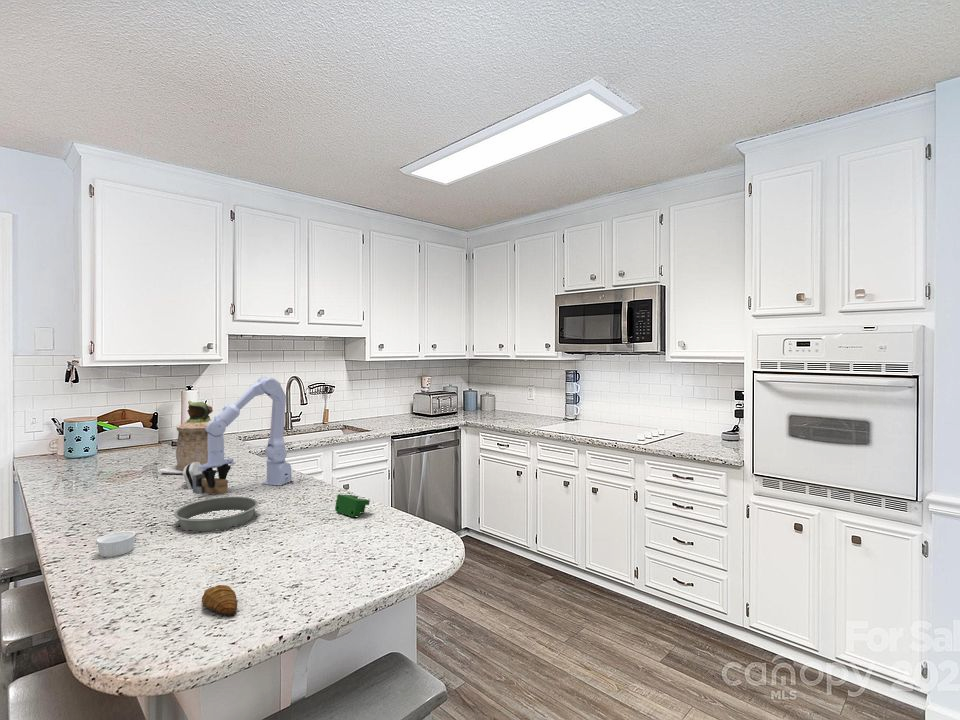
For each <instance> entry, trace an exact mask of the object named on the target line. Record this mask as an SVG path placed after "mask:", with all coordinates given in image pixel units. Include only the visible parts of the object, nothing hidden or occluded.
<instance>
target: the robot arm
mask: <svg viewBox="0 0 960 720" xmlns="http://www.w3.org/2000/svg"><path fill="white" fill-rule="evenodd" d="M265 394H266V396H268V397H269V398H270V399H271V400H272V403H271V404H272V405H271V408H272V409H271V417H270V418H271V420H270V431H269V432H270V433H269V439H268V441H267V445H266V447H265V449H264V455H265V457H267V459H266V481H263V482H261V483H262V485H270V486H276V485H280V486H282V485H281V484H283V485H285V484H284V483H286V484H288V483H287V482H289V481H292V480H293V479H292V465H291V464H290V462H289V463H288V461H286V458H287V454H288V452H287V449H286V444H285V443H286V442H285V440H284V431H285V420H286V419H285V416H286V407H287V395H286V393H285V391H284V389H283V387H282V386H281V383H280V382H279V381H278V380H277V379H275V378H273V377H267V376H262V377H260V378H259V379H258V380H257V381H255V382H253V383H252V384H251V386H249V388H248V389H246V391H245V392H244V393H243V394H242V395H241V396H240V397H239V398H238V399H237V400H236V401H235V402H234V403H233V404H228V405H227V406H223V407H222V410H221V411H220V412H219V413H218V414H216V415H215V416H213V418H212V419H211V421H209V422H208V423H207V426H206V427H205V429H206V431H207V432H208V440H207V444H208V462H207V463H206V464H203V465H200V466H198V471H202V473H203V474H204V476H205V478H206V480H207V483H208V486H209V487H210V488H213V487H214V478H216V473H218V479H226V480H227V476H228V474H229V472H230V469H231V466H232V465H234V464H235V463H234V460H235V459H234V458H225V439H224V434H225V432H226V429H227V428H228V426H230V425H231V424H232V423H233V421H235V420H236V419H237V418H239V416H240V411H241V410H242V409H243V408H245V406H246V405H247V404H248V403H249V402H250V401H251V400H253V399H254V398H255V397H257V396H258V397H259V396H262V395H265ZM228 464H232V465H228ZM216 467H217V471H216V470H213V469H212V468H216ZM289 483H290V482H289Z"/></svg>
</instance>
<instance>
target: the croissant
mask: <svg viewBox="0 0 960 720" xmlns="http://www.w3.org/2000/svg"><path fill="white" fill-rule="evenodd" d="M201 604H202V605H203V606H204V607H205V608H207V610H209V611H210V612H213V613H216V614H218V615H220V614H221V616H223V615H225V617H231V616H234V615H236V611H237V608H238V600H237V594H236V592H235V590H233V589H232V587H231V586H230V585H225V584H217V585H215V586H212V587H208V588H207V589H206V590H204V592H203V595H202V596H201Z"/></svg>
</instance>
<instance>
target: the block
mask: <svg viewBox="0 0 960 720" xmlns="http://www.w3.org/2000/svg"><path fill="white" fill-rule="evenodd" d="M228 482H229V481H228V479H227V478H226V479H219V477H215V478H214V487H213V488H210V487H209V486H208V483H207V480H206V478H204V479H202V486H203V487H204V493H205V492H206V493H207V494H211V493H213V495H218V494H219V495H220V494H221V495H224V494H228V493H227V492H229V488H228V487H229V484H228ZM206 493H205V494H206Z"/></svg>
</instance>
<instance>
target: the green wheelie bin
mask: <svg viewBox="0 0 960 720" xmlns="http://www.w3.org/2000/svg"><path fill="white" fill-rule="evenodd" d="M370 501H371V499H366V498H359V497H358V496H356V495H355V494H354V495H352V494H337V497H336V501H335V507H334V510H335V512H336V511H337V512H336V513H339V512H340V513H339V514H341V513H342V514H341V515H344V514H345V516H347V515H348V517H350V516H351V517H350V518H356V517H355V516H358V517H359V516H360V515H361V513H360V512H364V513H365V509H366V506H370V503H371V502H370Z"/></svg>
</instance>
